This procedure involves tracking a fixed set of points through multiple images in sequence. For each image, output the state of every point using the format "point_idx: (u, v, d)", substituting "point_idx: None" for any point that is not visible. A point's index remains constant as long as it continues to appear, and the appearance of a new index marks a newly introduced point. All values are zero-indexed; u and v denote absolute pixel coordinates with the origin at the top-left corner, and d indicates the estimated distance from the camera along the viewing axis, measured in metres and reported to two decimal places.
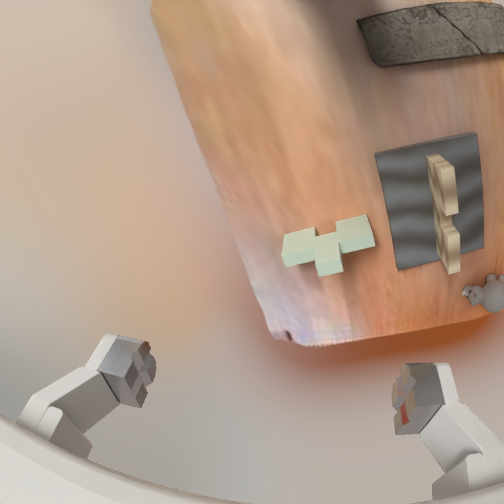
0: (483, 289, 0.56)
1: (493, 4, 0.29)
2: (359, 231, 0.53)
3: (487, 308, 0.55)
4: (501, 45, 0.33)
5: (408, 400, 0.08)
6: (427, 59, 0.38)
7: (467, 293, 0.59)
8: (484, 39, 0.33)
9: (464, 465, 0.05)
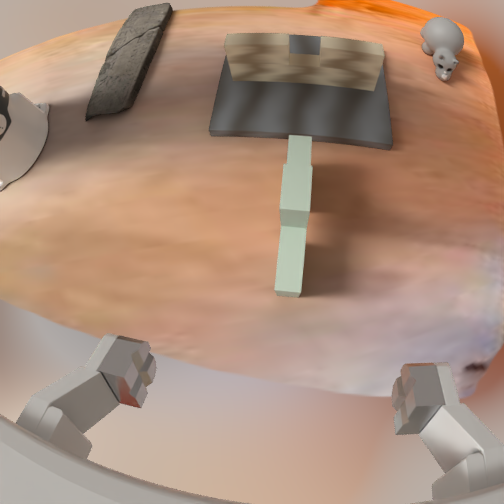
0: (435, 48, 0.37)
1: (129, 15, 0.49)
2: None
3: (456, 40, 0.34)
4: (161, 11, 0.48)
5: (407, 400, 0.08)
6: (140, 66, 0.44)
7: (443, 70, 0.38)
8: (149, 23, 0.47)
9: (464, 465, 0.05)
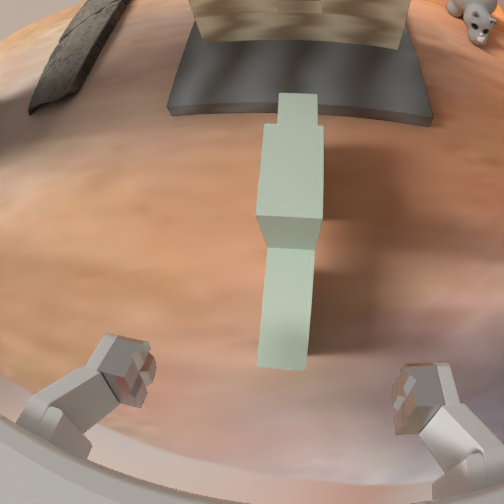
0: (465, 6, 0.24)
1: None
2: None
3: None
4: None
5: (408, 400, 0.08)
6: (93, 43, 0.32)
7: (479, 32, 0.24)
8: None
9: (464, 465, 0.05)
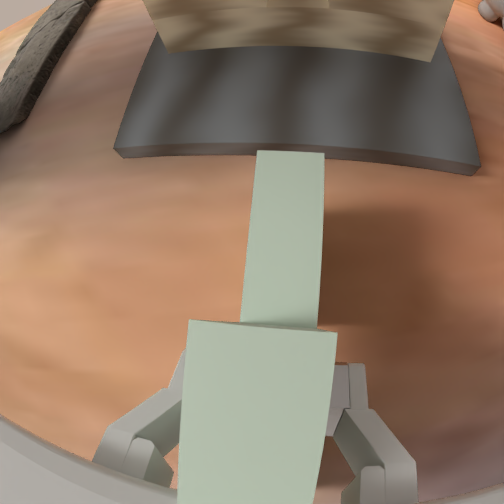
0: None
1: None
2: None
3: None
4: None
5: None
6: (45, 57, 0.24)
7: None
8: None
9: (359, 477, 0.06)
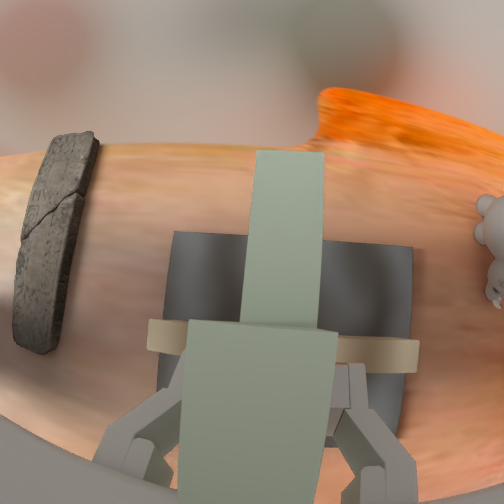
0: (496, 258, 0.25)
1: (47, 151, 0.38)
2: None
3: None
4: (81, 154, 0.37)
5: None
6: (56, 281, 0.33)
7: (498, 295, 0.26)
8: (65, 180, 0.36)
9: (359, 477, 0.06)
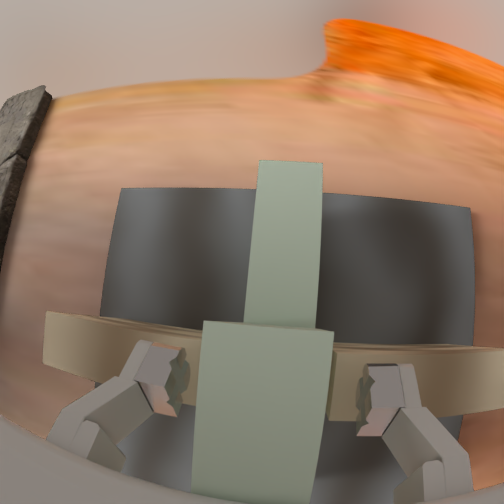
0: None
1: None
2: None
3: None
4: (28, 111, 0.26)
5: (366, 401, 0.08)
6: None
7: None
8: (8, 142, 0.25)
9: (421, 472, 0.05)
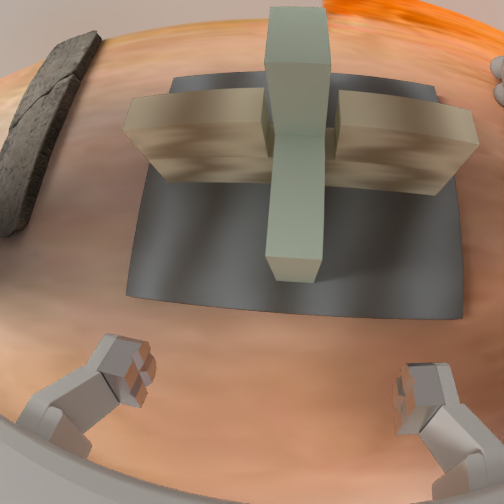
0: None
1: None
2: None
3: None
4: (82, 46, 0.31)
5: (408, 400, 0.08)
6: (37, 152, 0.27)
7: None
8: (63, 68, 0.30)
9: (464, 465, 0.05)
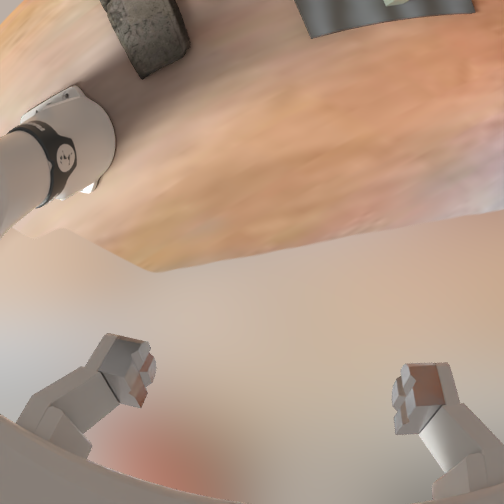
0: None
1: None
2: None
3: None
4: None
5: (408, 400, 0.08)
6: None
7: None
8: None
9: (464, 465, 0.05)
